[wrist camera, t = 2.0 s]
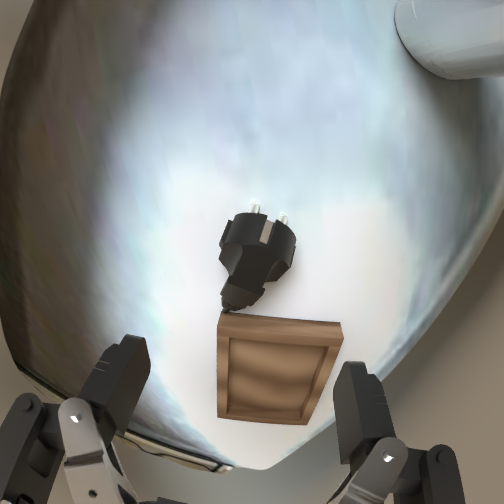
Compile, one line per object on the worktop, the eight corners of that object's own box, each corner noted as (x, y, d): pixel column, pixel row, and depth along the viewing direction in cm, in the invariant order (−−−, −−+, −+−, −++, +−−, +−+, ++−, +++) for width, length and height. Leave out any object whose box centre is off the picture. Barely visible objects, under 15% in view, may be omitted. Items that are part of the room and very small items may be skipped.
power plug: (196, 307, 28) (210, 261, 18) (220, 245, 32) (246, 176, 21) (249, 327, 29) (294, 292, 18) (268, 263, 32) (313, 204, 22)
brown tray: (221, 311, 29) (217, 326, 27) (339, 322, 29) (343, 338, 26) (220, 403, 37) (217, 417, 35) (306, 411, 36) (306, 425, 34)
